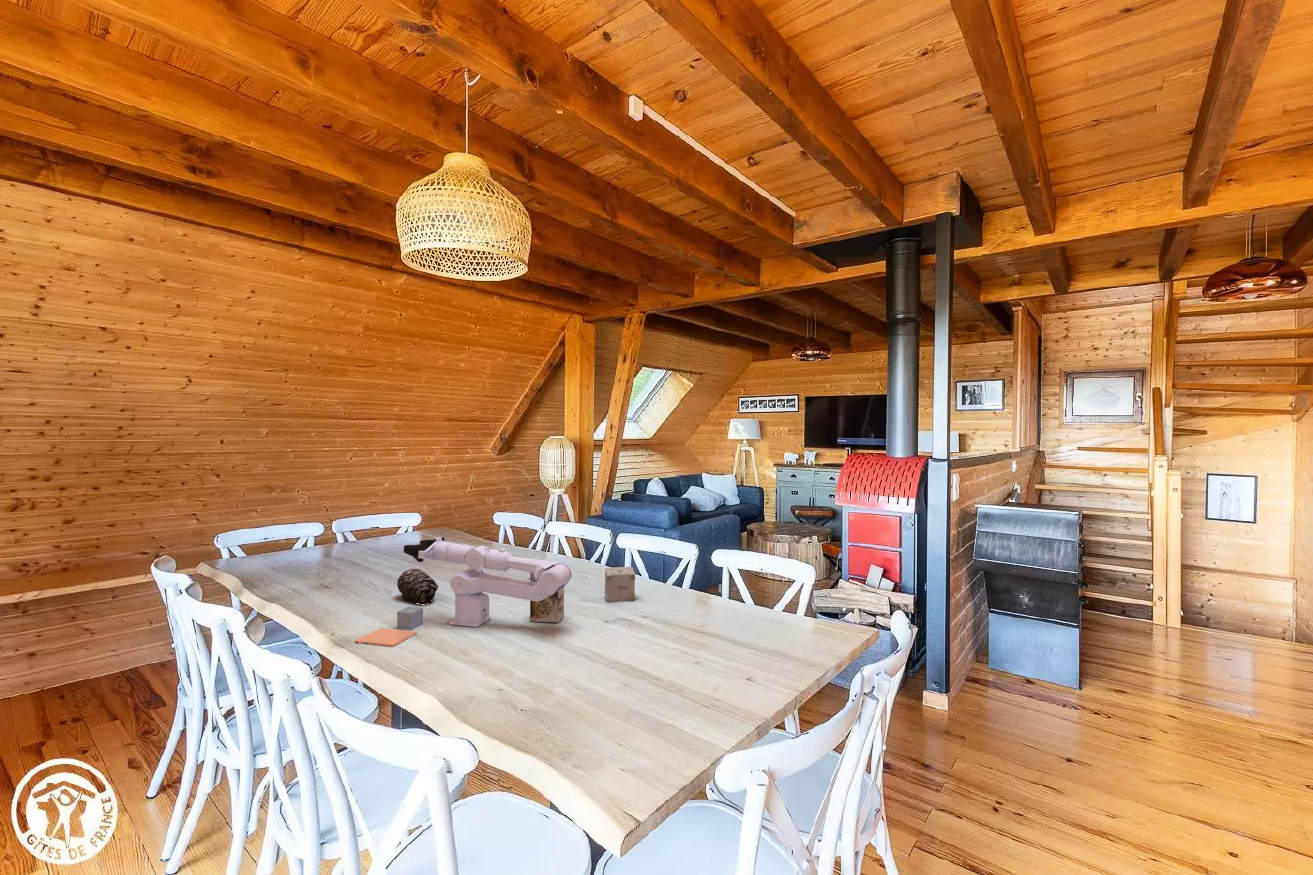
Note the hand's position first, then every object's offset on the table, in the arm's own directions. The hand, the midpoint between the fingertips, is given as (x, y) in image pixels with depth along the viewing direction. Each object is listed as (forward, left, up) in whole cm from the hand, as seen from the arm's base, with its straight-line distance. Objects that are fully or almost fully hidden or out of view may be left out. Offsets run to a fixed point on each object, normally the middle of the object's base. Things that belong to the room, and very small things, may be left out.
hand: (412, 546), depth 180 cm
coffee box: (-41, -8, -22) cm, 47 cm away
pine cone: (+9, -16, -22) cm, 29 cm away
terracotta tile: (-5, +18, -22) cm, 29 cm away
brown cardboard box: (-56, -34, -22) cm, 69 cm away
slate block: (-5, +8, -22) cm, 24 cm away
